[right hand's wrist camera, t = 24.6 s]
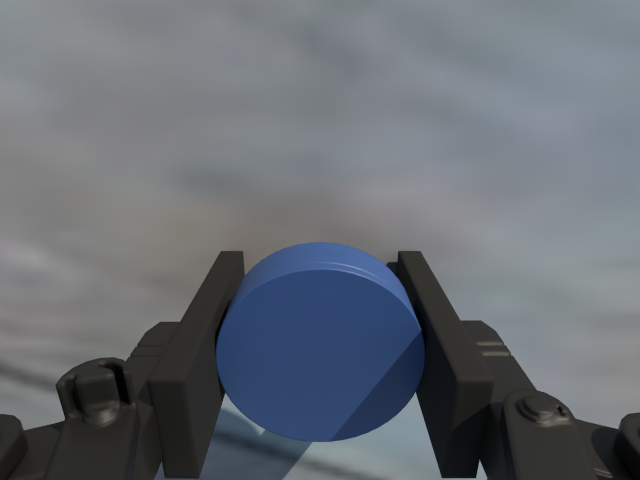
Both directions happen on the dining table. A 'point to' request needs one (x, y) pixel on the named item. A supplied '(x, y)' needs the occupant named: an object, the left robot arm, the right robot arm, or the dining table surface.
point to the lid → (320, 344)
